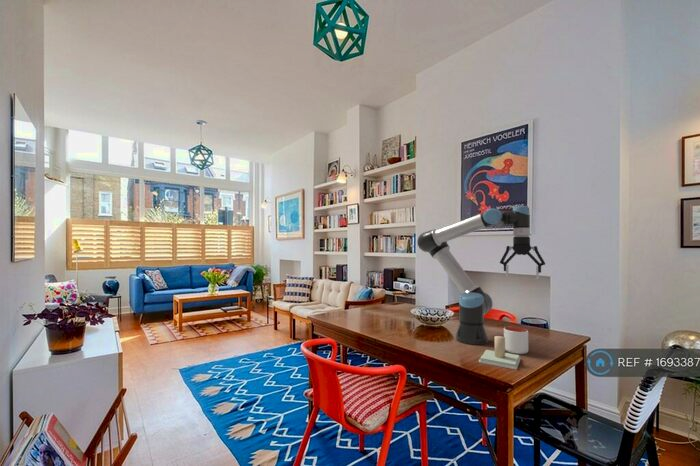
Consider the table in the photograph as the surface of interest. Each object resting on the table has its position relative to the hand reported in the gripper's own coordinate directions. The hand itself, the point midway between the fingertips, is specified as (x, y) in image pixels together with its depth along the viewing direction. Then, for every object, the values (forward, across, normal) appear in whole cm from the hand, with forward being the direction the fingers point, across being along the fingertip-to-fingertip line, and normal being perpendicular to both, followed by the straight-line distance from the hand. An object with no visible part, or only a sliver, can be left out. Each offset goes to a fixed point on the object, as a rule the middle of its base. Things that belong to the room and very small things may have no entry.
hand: (522, 278), depth 164 cm
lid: (+31, -5, -36) cm, 48 cm away
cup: (+32, -1, -18) cm, 37 cm away
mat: (+32, -5, -36) cm, 48 cm away
